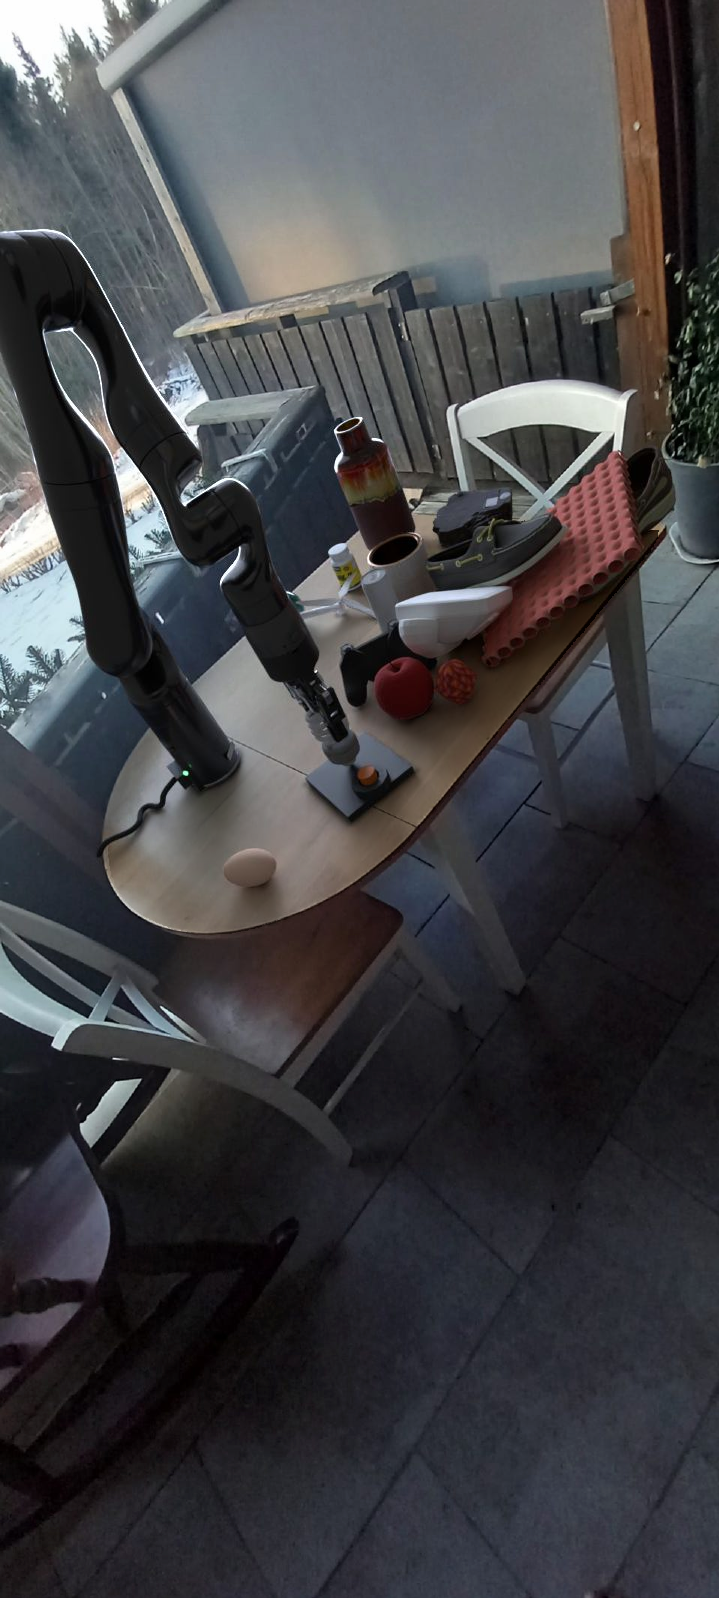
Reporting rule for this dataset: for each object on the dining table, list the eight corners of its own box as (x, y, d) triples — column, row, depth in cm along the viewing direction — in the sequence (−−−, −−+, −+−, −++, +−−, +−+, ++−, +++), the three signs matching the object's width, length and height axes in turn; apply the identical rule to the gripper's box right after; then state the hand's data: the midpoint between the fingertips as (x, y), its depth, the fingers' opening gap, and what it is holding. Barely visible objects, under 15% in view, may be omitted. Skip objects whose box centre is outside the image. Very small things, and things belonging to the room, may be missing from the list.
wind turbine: (256, 610, 147) (355, 586, 151) (278, 656, 138) (383, 629, 143) (254, 594, 144) (355, 570, 148) (277, 640, 135) (383, 613, 140)
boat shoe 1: (559, 554, 108) (526, 503, 106) (429, 623, 131) (399, 583, 128) (588, 518, 114) (558, 469, 112) (459, 590, 137) (431, 551, 134)
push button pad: (418, 774, 108) (411, 760, 106) (353, 825, 105) (345, 812, 103) (367, 737, 118) (360, 723, 116) (308, 783, 115) (300, 770, 113)
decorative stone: (485, 709, 111) (470, 668, 106) (442, 720, 114) (425, 680, 108) (484, 683, 116) (469, 642, 111) (442, 694, 118) (426, 654, 113)
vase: (424, 548, 151) (380, 420, 134) (374, 570, 153) (323, 447, 135) (415, 526, 159) (371, 403, 142) (367, 547, 161) (318, 428, 144)
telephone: (435, 588, 129) (441, 642, 132) (377, 609, 114) (386, 670, 117) (522, 580, 120) (527, 638, 124) (473, 601, 105) (479, 666, 108)
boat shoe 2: (580, 615, 118) (568, 548, 110) (519, 595, 127) (504, 532, 119) (711, 505, 125) (709, 434, 117) (644, 494, 134) (638, 427, 126)
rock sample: (462, 558, 143) (455, 535, 140) (419, 540, 155) (412, 518, 151) (533, 510, 145) (528, 486, 142) (486, 496, 157) (480, 473, 154)
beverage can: (409, 621, 135) (387, 564, 127) (408, 637, 132) (385, 579, 124) (384, 628, 137) (361, 572, 129) (383, 644, 134) (358, 587, 126)
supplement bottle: (339, 593, 152) (323, 557, 147) (346, 579, 155) (330, 544, 149) (360, 589, 150) (344, 553, 144) (366, 575, 153) (351, 539, 147)
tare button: (381, 777, 106) (377, 770, 105) (367, 788, 106) (363, 781, 105) (371, 770, 108) (367, 762, 107) (357, 780, 107) (353, 773, 106)
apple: (394, 737, 115) (371, 688, 108) (378, 706, 122) (356, 658, 115) (448, 710, 114) (429, 660, 108) (430, 681, 121) (410, 631, 114)
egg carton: (644, 552, 99) (635, 543, 98) (491, 669, 117) (481, 662, 117) (625, 455, 117) (617, 446, 116) (494, 570, 135) (486, 563, 134)
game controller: (434, 663, 128) (409, 609, 126) (441, 665, 122) (415, 608, 119) (350, 706, 129) (323, 653, 127) (352, 711, 122) (324, 655, 120)
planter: (431, 606, 136) (414, 561, 129) (377, 614, 141) (359, 571, 134) (444, 572, 142) (429, 526, 136) (392, 581, 147) (375, 538, 141)
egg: (265, 880, 99) (214, 889, 103) (286, 883, 104) (237, 892, 107) (262, 842, 101) (212, 852, 104) (283, 846, 105) (234, 856, 108)
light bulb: (348, 747, 115) (317, 689, 107) (375, 755, 112) (345, 695, 104) (326, 773, 113) (293, 715, 105) (353, 781, 110) (320, 723, 102)
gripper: (233, 637, 101) (288, 726, 112) (281, 672, 90) (336, 766, 102) (277, 606, 102) (326, 697, 113) (329, 636, 92) (378, 733, 103)
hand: (331, 729), depth 107 cm, fingers closed on light bulb, 5 cm apart
